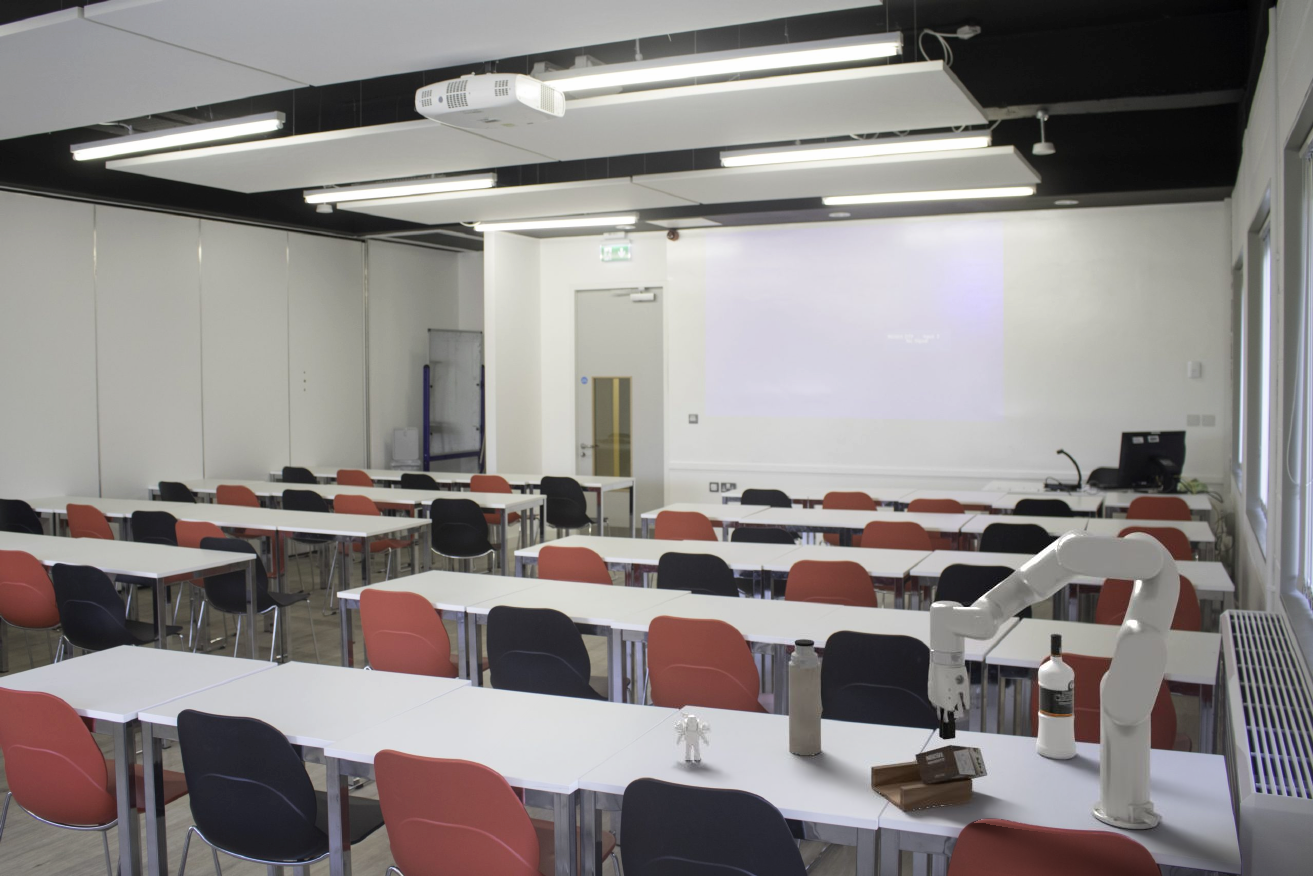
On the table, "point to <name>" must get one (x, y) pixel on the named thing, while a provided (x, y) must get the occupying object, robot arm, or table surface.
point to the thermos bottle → (804, 699)
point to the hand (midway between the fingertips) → (947, 737)
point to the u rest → (917, 787)
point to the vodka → (1056, 706)
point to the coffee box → (950, 764)
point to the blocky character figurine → (692, 735)
